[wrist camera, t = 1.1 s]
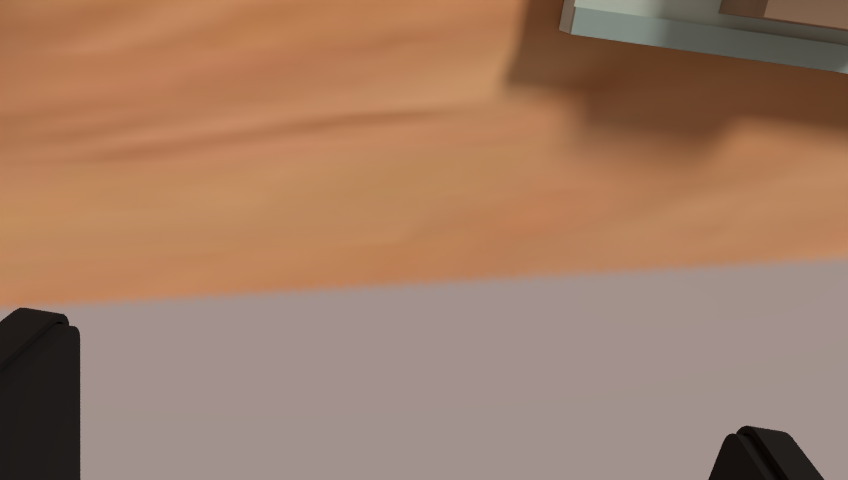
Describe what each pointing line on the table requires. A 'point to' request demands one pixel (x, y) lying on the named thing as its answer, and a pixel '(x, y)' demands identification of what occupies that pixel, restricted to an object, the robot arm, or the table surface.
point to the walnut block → (792, 11)
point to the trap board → (706, 31)
